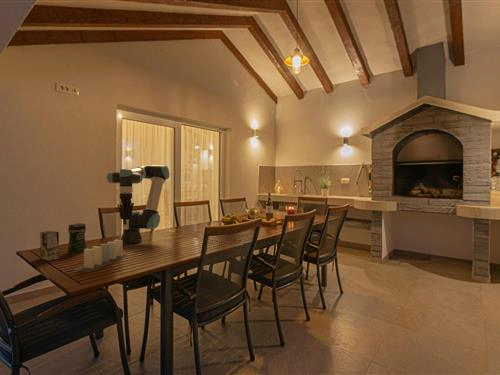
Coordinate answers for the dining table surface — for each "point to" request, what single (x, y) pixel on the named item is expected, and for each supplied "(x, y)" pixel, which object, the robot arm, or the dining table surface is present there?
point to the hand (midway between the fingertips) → (126, 229)
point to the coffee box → (49, 245)
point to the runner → (99, 265)
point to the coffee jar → (76, 238)
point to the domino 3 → (105, 252)
